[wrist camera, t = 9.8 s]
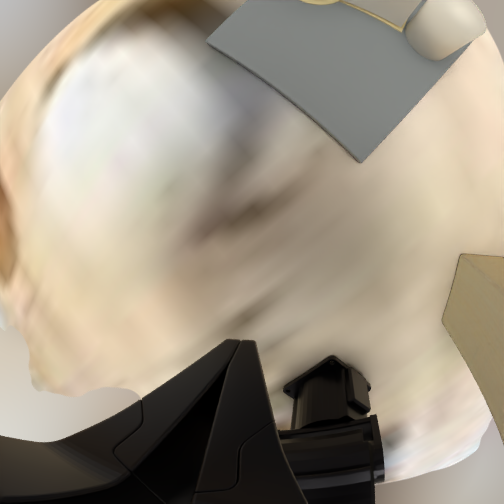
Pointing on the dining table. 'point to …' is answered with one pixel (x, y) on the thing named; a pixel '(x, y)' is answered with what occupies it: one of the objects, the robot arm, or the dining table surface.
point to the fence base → (444, 27)
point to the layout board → (333, 64)
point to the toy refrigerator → (480, 325)
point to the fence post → (389, 8)
